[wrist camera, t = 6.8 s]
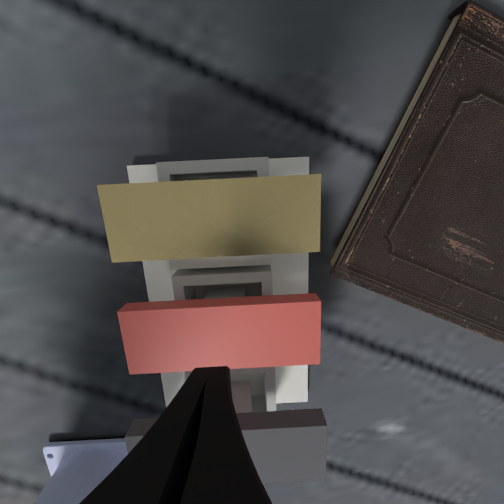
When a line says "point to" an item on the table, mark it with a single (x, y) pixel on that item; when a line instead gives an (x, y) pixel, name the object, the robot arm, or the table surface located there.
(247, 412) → the grey rectangular block
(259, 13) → the table surface
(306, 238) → the brass plug
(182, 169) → the panel
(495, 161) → the hardcover book
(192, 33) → the table surface
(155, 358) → the red plug
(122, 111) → the table surface
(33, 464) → the table surface
